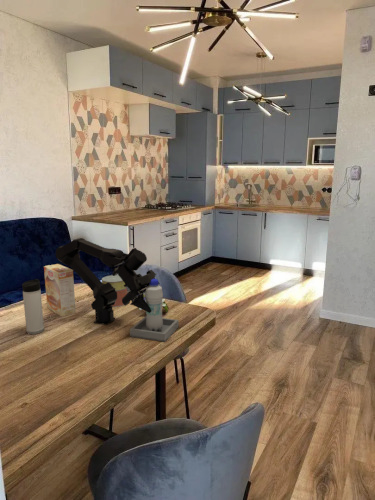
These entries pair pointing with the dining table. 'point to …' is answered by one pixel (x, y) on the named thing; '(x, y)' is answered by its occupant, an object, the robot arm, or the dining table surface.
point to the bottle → (154, 305)
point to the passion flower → (162, 305)
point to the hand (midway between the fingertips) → (154, 309)
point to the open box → (160, 335)
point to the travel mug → (33, 306)
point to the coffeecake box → (60, 289)
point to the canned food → (116, 288)
